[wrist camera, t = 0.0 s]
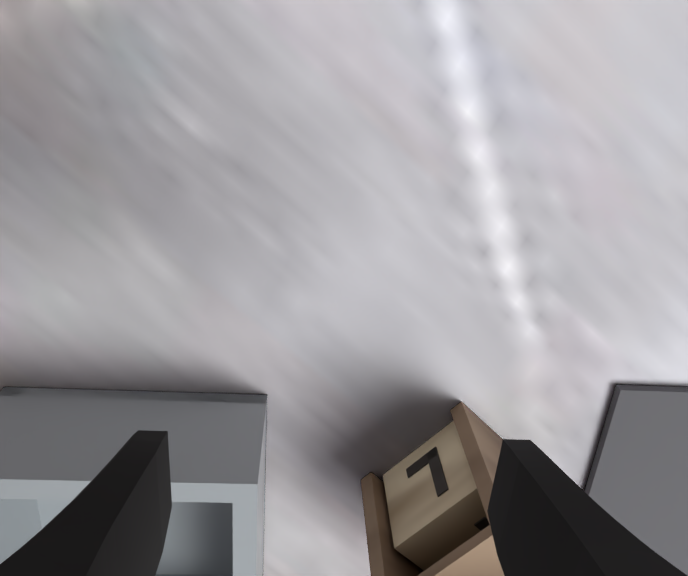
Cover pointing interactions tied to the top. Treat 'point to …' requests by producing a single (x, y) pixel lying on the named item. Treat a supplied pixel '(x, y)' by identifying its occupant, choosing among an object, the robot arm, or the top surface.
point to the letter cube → (433, 500)
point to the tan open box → (469, 558)
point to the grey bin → (110, 436)
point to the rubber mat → (646, 467)
